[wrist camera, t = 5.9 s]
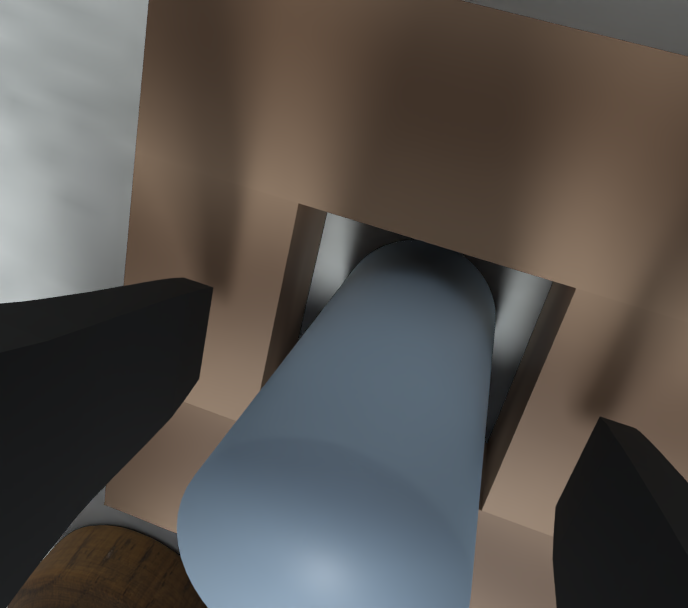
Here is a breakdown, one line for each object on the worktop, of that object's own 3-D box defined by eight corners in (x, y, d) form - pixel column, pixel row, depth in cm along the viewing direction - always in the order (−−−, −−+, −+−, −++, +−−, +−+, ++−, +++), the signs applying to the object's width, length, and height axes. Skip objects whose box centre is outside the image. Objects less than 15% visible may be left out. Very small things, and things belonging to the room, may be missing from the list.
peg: (467, 403, 15) (419, 722, 8) (327, 355, 16) (162, 614, 8) (518, 268, 14) (516, 508, 6) (361, 220, 14) (196, 392, 7)
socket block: (565, 604, 16) (572, 691, 14) (155, 449, 18) (104, 504, 16) (840, 102, 11) (923, 114, 9) (219, -53, 13) (155, -75, 10)
